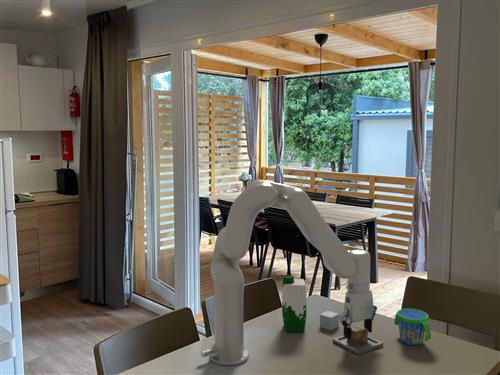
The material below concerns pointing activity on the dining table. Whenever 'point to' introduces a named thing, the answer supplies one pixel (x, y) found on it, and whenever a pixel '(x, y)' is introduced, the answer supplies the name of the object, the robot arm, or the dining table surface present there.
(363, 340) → the oak cube
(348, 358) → the dining table surface
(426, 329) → the snack cup
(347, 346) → the tray
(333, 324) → the bluegrey block
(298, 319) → the soya milk
